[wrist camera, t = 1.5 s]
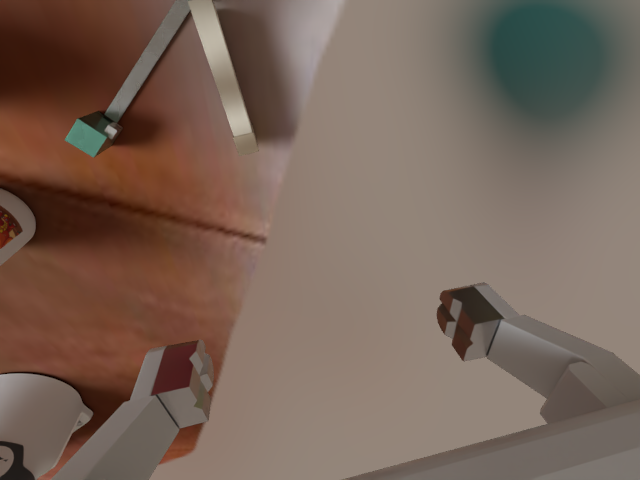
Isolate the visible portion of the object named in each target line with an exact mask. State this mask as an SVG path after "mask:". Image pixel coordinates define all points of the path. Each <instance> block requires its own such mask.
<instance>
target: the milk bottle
mask: <svg viewBox="0 0 640 480" xmlns="http://www.w3.org/2000/svg"><path fill="white" fill-rule="evenodd" d="M35 229H36V222H35V217H34V215H33V213H32V211H31V210H30V208H29V207H28V206H27V205H26V204H25V203H24V202H23V201H22V200H21V199H19V198H18V197H17V196H15V195H13V194H12V193H10V192H8V191H6V190H3V189H1V188H0V266H1V265H2V264H3V263H4V262H5V261H6V260H8V259H9V258H10V257H11V256H12V255H14V254H15V253H16V252H17V251H18V250H19V249H20V248H22V247H23V246H24V245H25V244H26V243H27V242H28V241H29V240H30V239H31V238H32V237H33V235H34V233H35Z"/></svg>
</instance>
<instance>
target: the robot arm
mask: <svg viewBox="0 0 640 480" xmlns="http://www.w3.org/2000/svg"><path fill="white" fill-rule="evenodd" d="M440 300H441V302H442V304H441V305H440V306H439V307H438V310H437V319H438V324H439V326H440V328H441V330H442V331H443V333H444V334H445V335H446V336H448V337H450V338H452V346H453V347H454V349H455V350H456V352H457V353H458V355H459V356H460V358H461V359H462V360H463V361H468V360H473V359H478V358H483V357H487V359H489V360H490V361H492V362H493V363H495V364H497V365H498V366H499V367H501V368H502V369H504V370H505V371H507V372H508V373H510V374H512V375H513V376H514V377H516V378H517V379H519V380H520V381H522V382H523V383H525V384H526V385H528V386H529V387H531V388H532V389H534V390H535V391H537V392H538V393H540V394H541V395H543V396H544V397H545V398H547V400H546V401H545V403H544V405H543V406H542V408H541V411H540V414H541V416H542V417H543V418H544V420H545V421H546V422H547V423H548V424H546V425H542V426H538V427H535V428H531V429H527V430H523V431H520V432H516V433H512V434H509V435H505V436H501V437H498V438H494V439H490V440H486V441H483V442H479V443H475V444H472V445H468V446H465V447H461V448H457V449H454V450H450V451H446V452H442V453H438V454H435V455H432V456H428V457H424V458H420V459H416V460H413V461H409V462H405V463H402V464H398V465H394V466H390V467H387V468H383V469H380V470H376V471H372V472H368V473H365V474H361V475H358V476H354V477H350V478H346V479H343V480H640V375H639V374H638V373H637V372H635V371H634V370H633V369H632V368H630V367H629V366H628V365H627V364H626V363H624V362H623V361H622V360H621V359H620V358H618V357H617V356H616V355H615V354H614V353H612V352H610V351H607V350H605V349H603V348H601V347H598V346H596V345H594V344H591V343H589V342H587V341H584V340H582V339H580V338H577V337H575V336H573V335H570V334H568V333H566V332H563V331H561V330H559V329H556V328H554V327H552V326H549V325H547V324H545V323H542V322H540V321H538V320H535V319H533V318H531V317H528V316H526V315H519V314H518V313H517V312H516V311H515V310H514V309H513V308H512V307H511V306H510V305H509V304H508V303H507V302H506V301H505V300H504V299H502V298H501V296H499V295H498V294H497V293H496V292H495V291H494V290H493V289H492V288H491V287H490V286H489V285H488V284H486V283H478V284H474V285H470V286H463V287H459V288H454V289H449V290H445V291H443V292H442V293H441V295H440ZM213 377H214V375H213V364H212V360H211V358H210V356H209V355H207V354H205V345H204V343H203V341H202V340H197V341H191V342H185V343H179V344H174V345H168V346H164V347H158V348H153V349H150V350H149V351H148V352H147V354H146V356H145V359H144V362H143V365H142V367H141V370H140V373H139V376H138V379H137V381H136V384H135V387H134V390H133V393H132V395H131V398H130V401H127V402H124V403H123V404H122V405H121V406H120V407H119V408H118V409H117V410H116V411H115V412H114V413H113V414H112V415H111V417H110V418H109V419H108V420H107V421H106V422H105V423H104V424H103V425H102V426H101V427H100V428H99V429H98V430H97V431H96V432H95V433H94V434H93V436H92V437H91V438H90V439H89V440H88V441H87V442H86V443H85V444H84V445H83V446H82V447H81V448H80V449H79V450H78V451H77V452H76V454H75V455H74V456H73V457H72V458H71V459H70V460H69V461H68V462H67V463H66V464H65V465H64V466H63V467H62V468H61V469H60V470H59V471H58V473H57V474H56V475H55V476H54V477H53V478H52V479H51V480H149V478H150V477H151V475H152V473H153V472H154V470H155V469H156V467H157V465H158V464H159V462H160V461H161V459H162V458H163V456H164V454H165V453H166V451H167V450H168V448H169V446H170V445H171V443H172V442H173V440H174V438H175V437H176V435H177V434H178V432H179V429H180V428H183V427H187V426H191V425H195V424H199V423H203V422H206V421H208V420H209V411H210V404H211V398H210V396H209V394H208V391H209V390H210V388H211V387H212V386H213ZM92 416H93V412H92V411H91V410H90V409H89V408H87V407H86V406H85V405H84V404H83V402H82V399H81V397H80V395H79V394H78V392H77V391H76V390H75V389H73V388H72V387H71V386H69V385H68V384H66V383H64V382H62V381H59V380H57V379H54V378H50V377H46V376H41V375H35V374H22V373H15V374H3V375H0V480H36V479H37V478H39V477H40V476H41V475H43V474H45V473H47V472H48V471H49V470H50V469H51V468H54V467H55V466H56V464H57V463H58V461H59V459H60V457H61V455H62V453H63V451H64V449H65V447H66V445H67V443H68V441H69V439H70V437H71V435H72V433H73V432H75V431H76V430H77V429H79V428H80V427H82V426H83V425H84V424H86V423H87V422H89V421H90V419H91V417H92Z"/></svg>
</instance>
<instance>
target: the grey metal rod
mask: <svg viewBox="0 0 640 480" xmlns="http://www.w3.org/2000/svg"><path fill="white" fill-rule="evenodd" d="M188 1H191V0H176V1H175V3H174V4H173V6H172V7H171V9H170V11H169V12H168V14H167V15H166V17H165V19H164V20H163V22H162V23H161V25H160V26H159V28H158V30H157V31H156V33H155V34H154V36H153V38H152V39H151V41H150V42H149V44H148V46H147V47H146V49H145V50H144V52H143V54H142V55H141V57H140V58H139V60H138V62H137V63H136V65H135V66H134V68H133V69H132V71H131V73H130V74H129V76H128V77H127V79H126V81H125V82H124V84H123V85H122V87H121V89H120V90H119V92H118V93H117V95H116V97H115V98H114V100H113V101H112V103H111V105H110V106H109V108H108V109H107V111H106V112H105V114H104V115H106V116H107V117H109V118H110V119H112V120H113V121H115V122H116V123H118V122H119V120H120V119H121V117H122V116H123V114H124V113H125V111H126V110H127V108H128V106H129V105H130V103H131V102H132V100H133V99H134V97H135V96H136V94H137V93H138V91H139V89H140V88H141V86H142V85H143V83H144V82H145V80H146V79H147V77H148V76H149V74H150V72H151V71H152V69H153V68H154V66H155V65H156V63H157V62H158V60H159V59H160V57H161V55H162V54H163V52H164V51H165V49H166V48H167V46H168V45H169V43H170V42H171V40H172V38H173V37H174V35H175V34H176V32H177V31H178V29H179V28H180V26H181V25H182V23H183V21H184V20H185V18H186V17H187V15H188V14H189V12H190V11H191V10H190V7H189V4H188Z"/></svg>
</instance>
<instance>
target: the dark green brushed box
mask: <svg viewBox="0 0 640 480" xmlns="http://www.w3.org/2000/svg"><path fill="white" fill-rule="evenodd" d="M122 129H123V127H121V126H120V125H118V124H117V123H116V122H114V121H112V120H111V119H109V118H108V117H106V116H105V115H103V114H102V113H100V112H99V111H97V112H95V113H92V114H89V115H86V116H83V117H81V118H78V119H77V120H76V122H75V124H74V125H73V127H72V129H71V130H70V132H69V134H68V135H67V137H66V139H65V141H67V142H69V143H70V144H72V145H74V146H75V147H77V148H79V149H80V150H82V151H84V152H85V153H87V154H89V155H90V156H92V157H95V156H97V155H98V154H100V153H101V152H103V151H104V150H106V149H107V148H109V147H110V146H112V144H113V143H114V141H115V140H116V138H117V137H118V135H119V134H120V132H121V131H122Z"/></svg>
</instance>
